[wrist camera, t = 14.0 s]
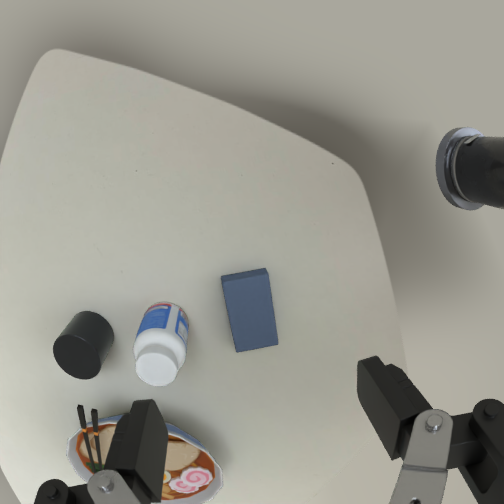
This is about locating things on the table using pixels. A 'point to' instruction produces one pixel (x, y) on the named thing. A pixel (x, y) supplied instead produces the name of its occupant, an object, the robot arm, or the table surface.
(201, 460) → the ramen bowl
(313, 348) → the table surface
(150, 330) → the pill bottle
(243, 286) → the blue rectangular block
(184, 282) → the table surface
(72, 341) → the black cylinder
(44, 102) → the table surface
